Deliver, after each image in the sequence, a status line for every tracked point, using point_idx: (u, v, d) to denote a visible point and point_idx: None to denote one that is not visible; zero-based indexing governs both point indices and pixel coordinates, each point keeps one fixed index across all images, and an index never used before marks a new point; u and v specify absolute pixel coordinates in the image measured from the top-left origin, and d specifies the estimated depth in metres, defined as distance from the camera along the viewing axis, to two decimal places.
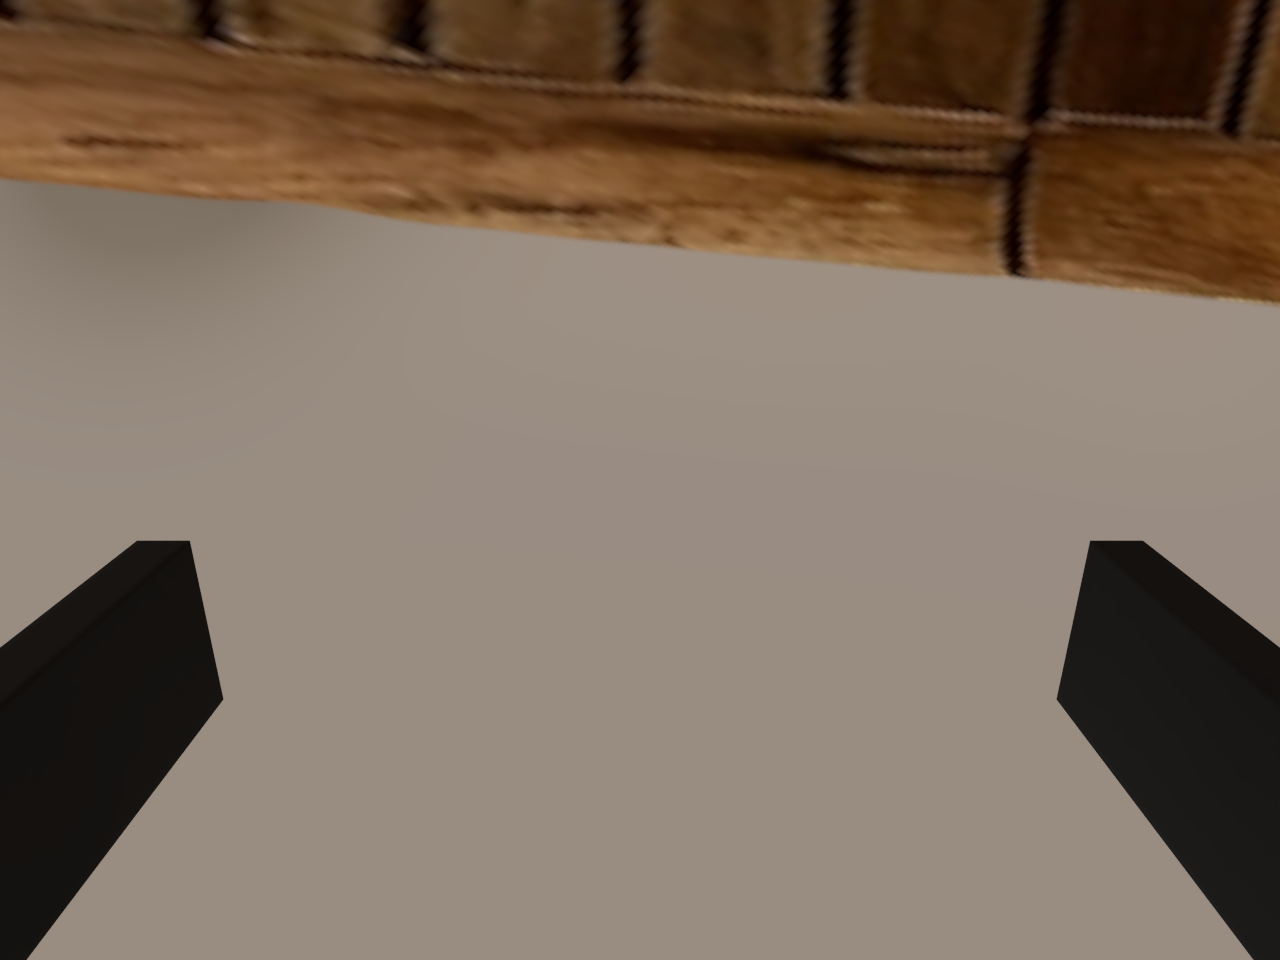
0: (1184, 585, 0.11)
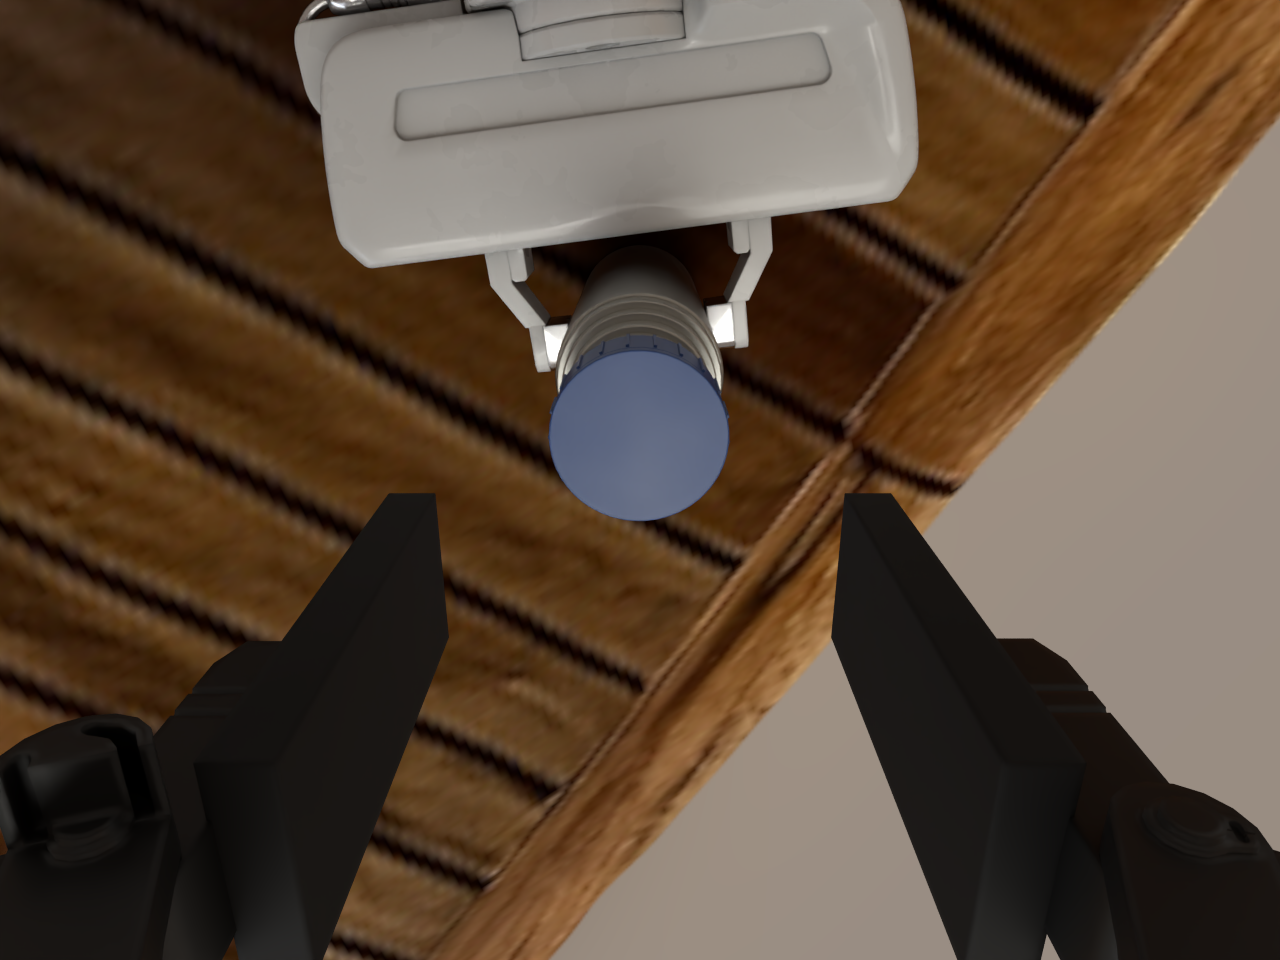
0: (901, 527, 0.13)
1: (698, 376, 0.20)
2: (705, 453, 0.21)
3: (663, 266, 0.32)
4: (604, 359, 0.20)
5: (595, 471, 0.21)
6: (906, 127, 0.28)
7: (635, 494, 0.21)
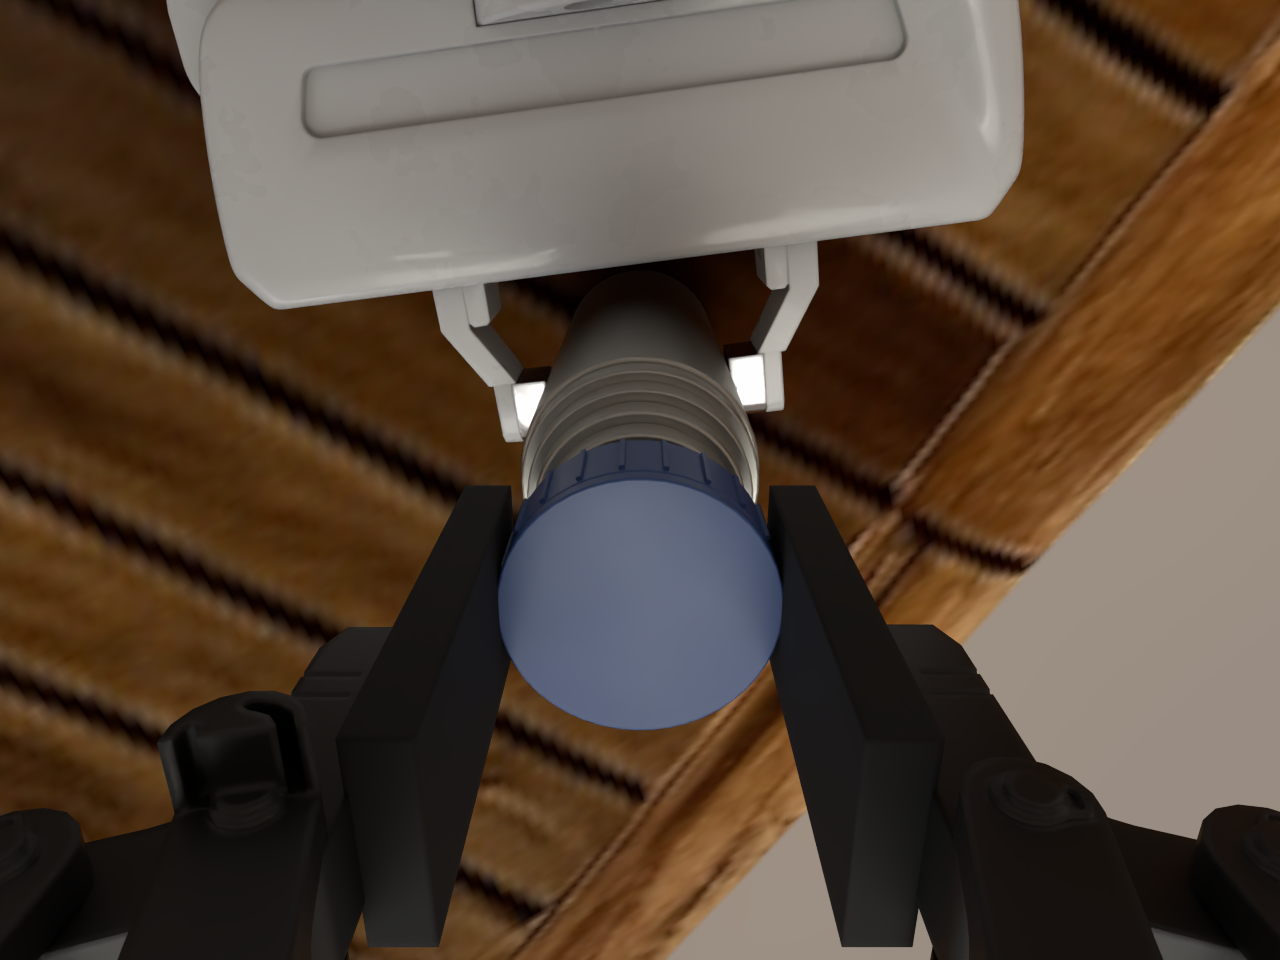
0: (818, 518, 0.13)
1: (736, 518, 0.12)
2: (745, 633, 0.13)
3: (671, 304, 0.24)
4: (583, 493, 0.12)
5: (571, 659, 0.13)
6: (1009, 119, 0.20)
7: (634, 692, 0.13)
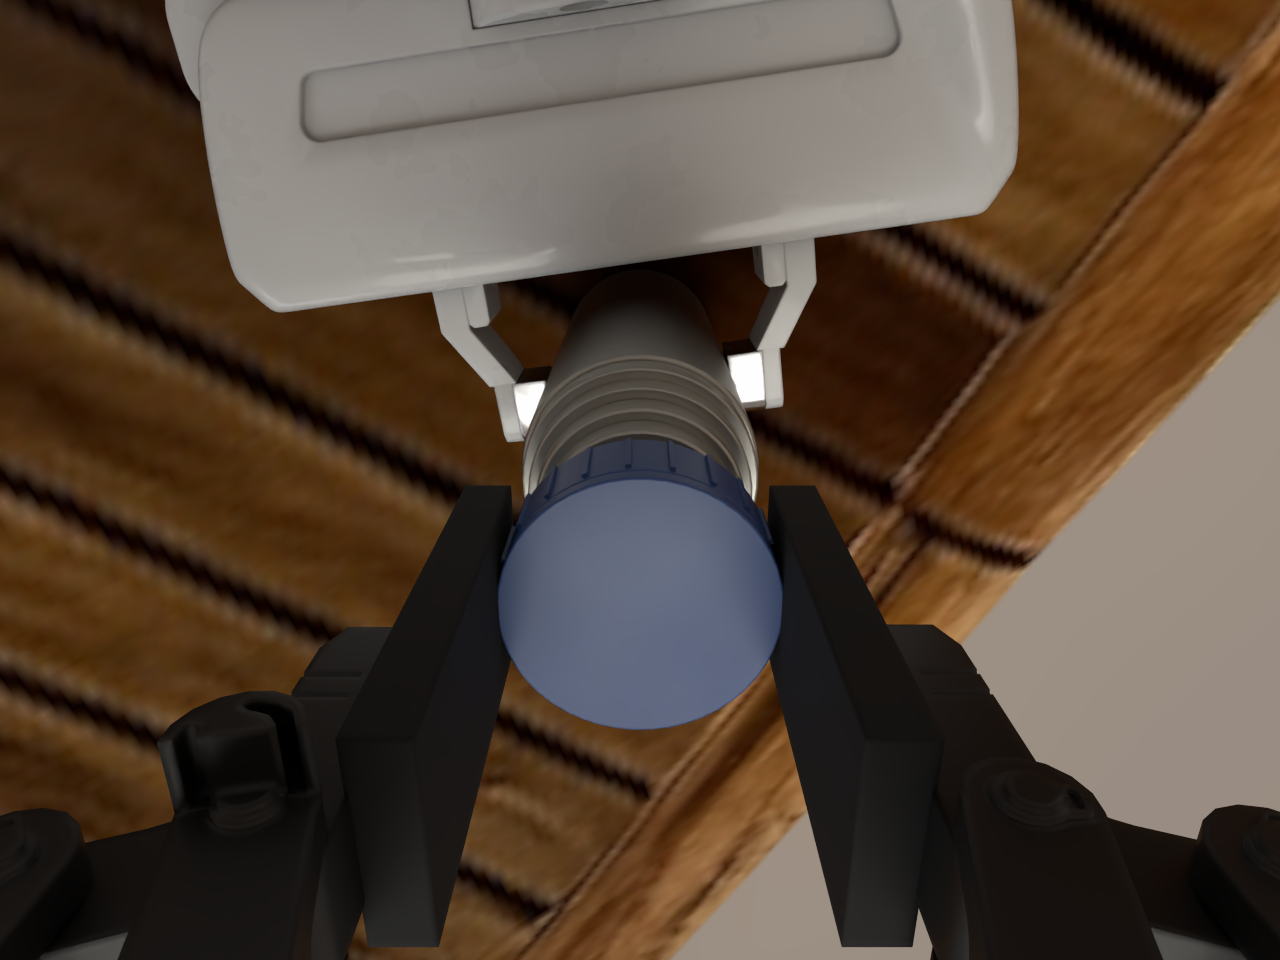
0: (818, 518, 0.13)
1: (503, 616, 0.13)
2: (580, 526, 0.12)
3: (670, 302, 0.24)
4: (588, 720, 0.14)
5: (728, 621, 0.13)
6: (1004, 114, 0.20)
7: (714, 555, 0.13)
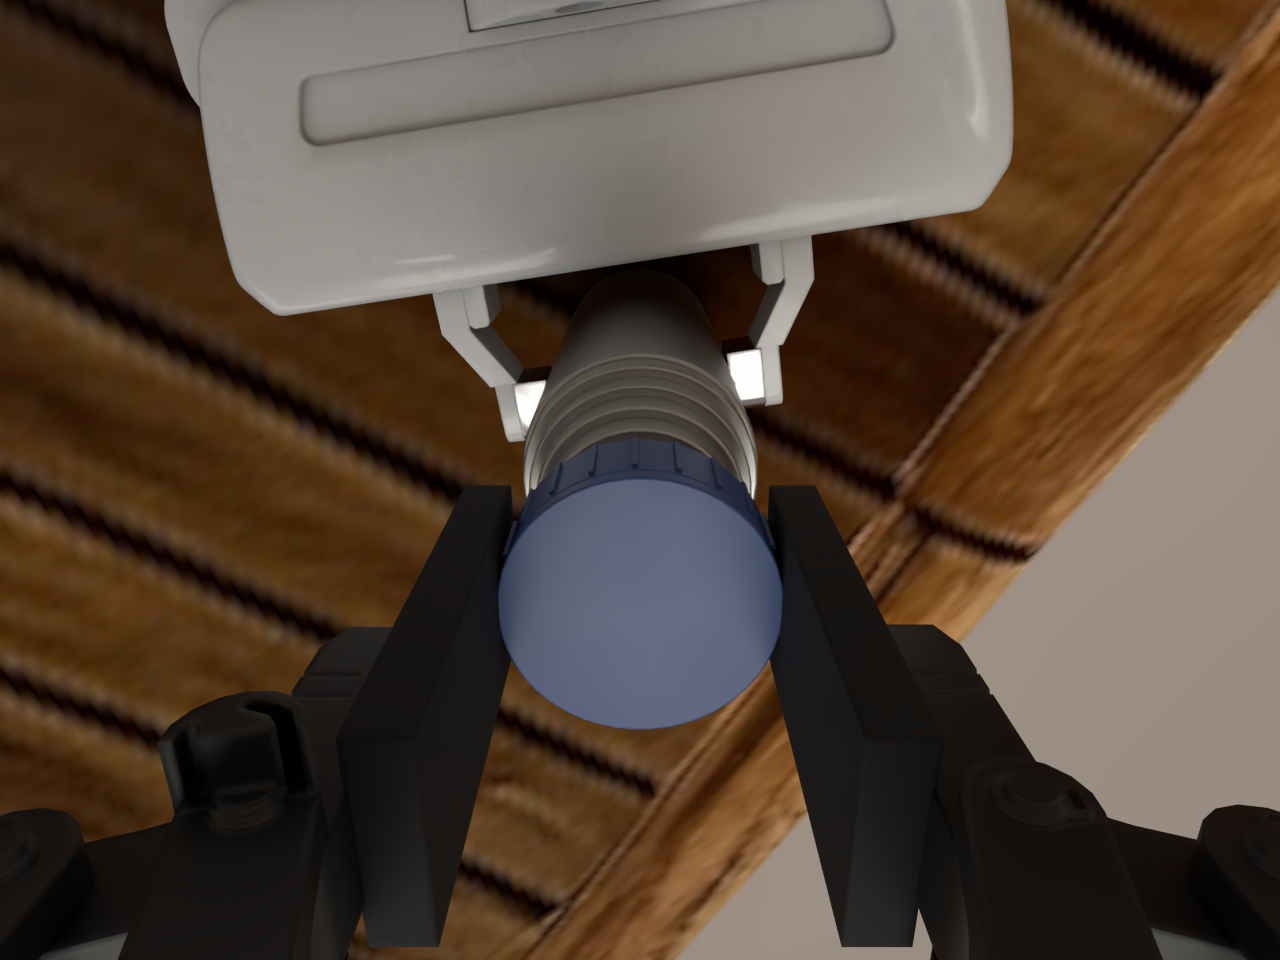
0: (818, 518, 0.13)
1: (737, 689, 0.13)
2: (615, 700, 0.14)
3: (669, 301, 0.25)
4: (774, 566, 0.13)
5: (584, 547, 0.13)
6: (998, 109, 0.20)
7: (544, 605, 0.13)
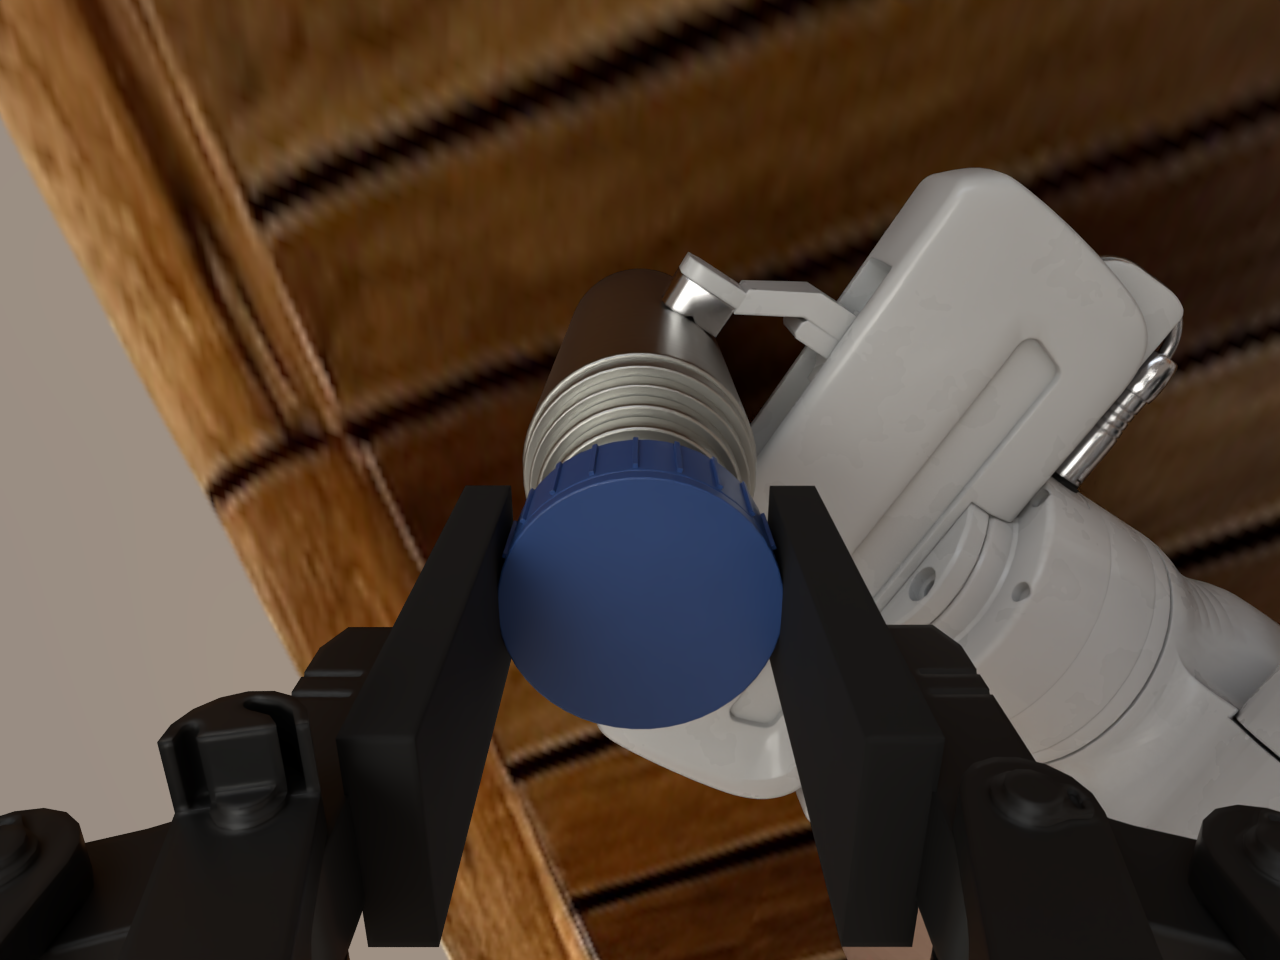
0: (818, 518, 0.13)
1: (737, 690, 0.13)
2: (615, 700, 0.14)
3: None
4: (774, 566, 0.13)
5: (584, 547, 0.13)
6: (642, 748, 0.27)
7: (544, 605, 0.13)
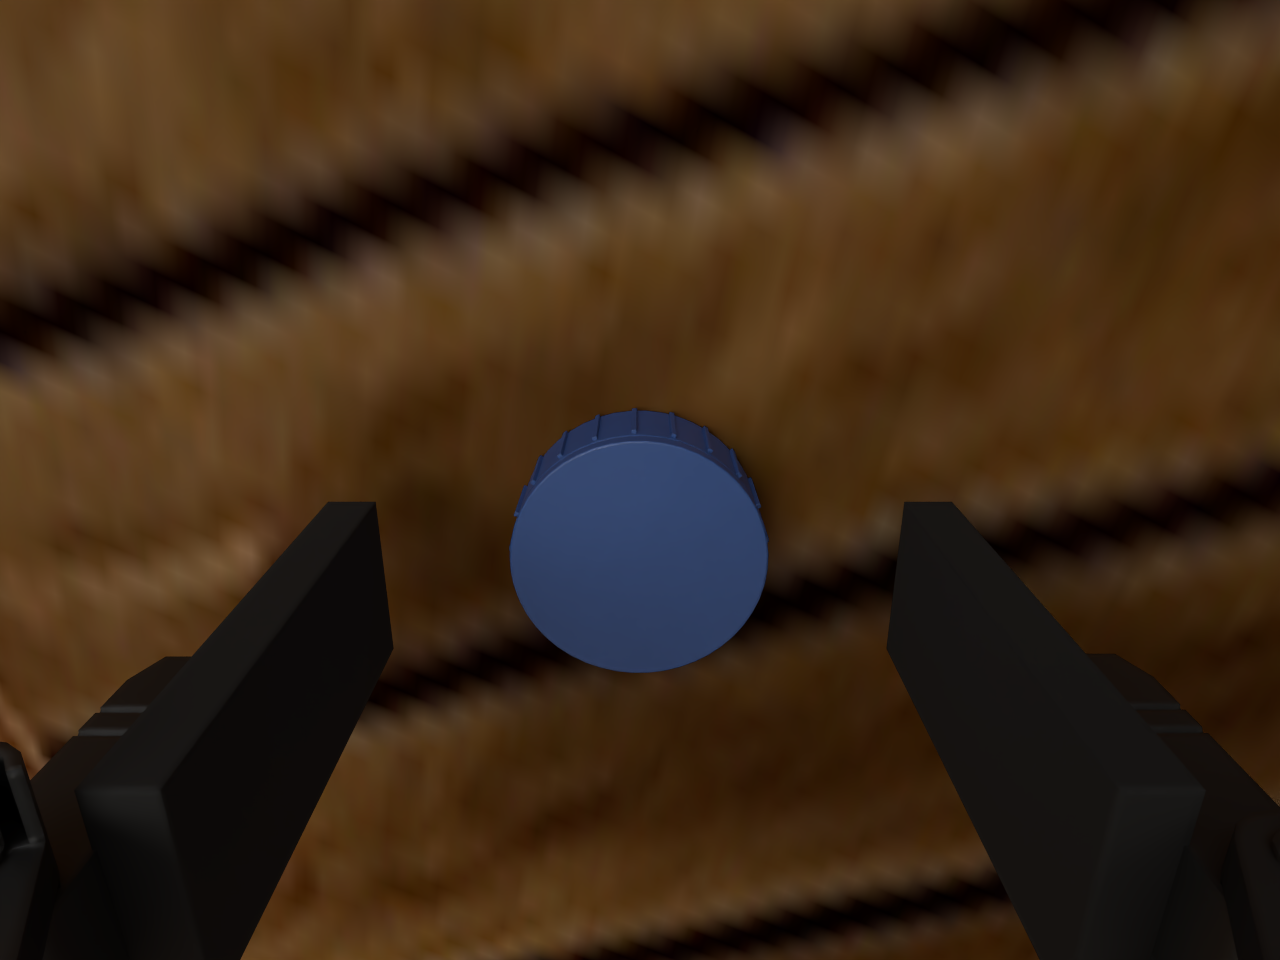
0: (969, 537, 0.12)
1: (726, 636, 0.15)
2: (616, 645, 0.15)
3: None
4: (758, 522, 0.14)
5: (588, 504, 0.14)
6: None
7: (553, 558, 0.14)
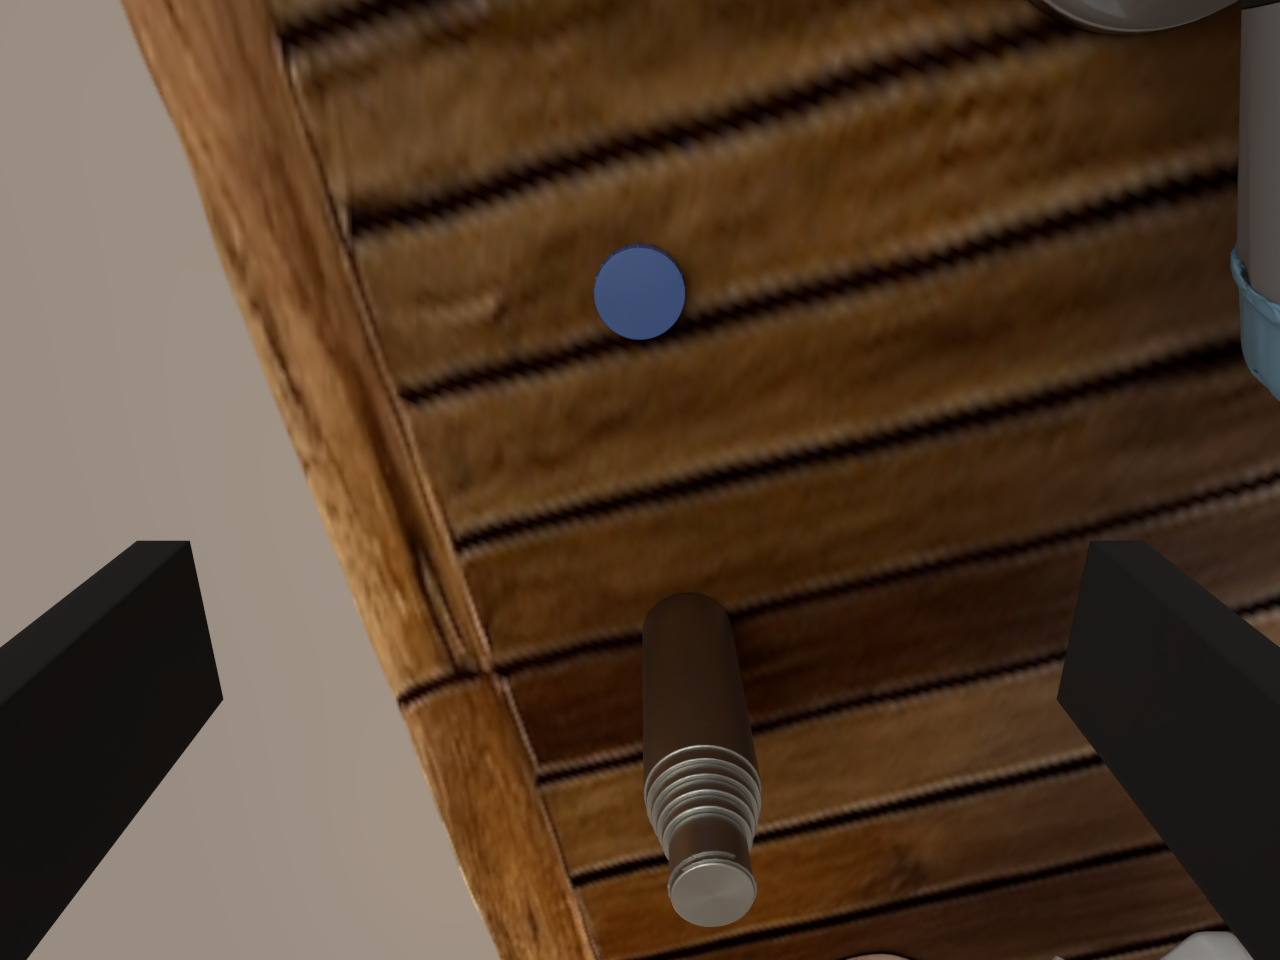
0: (1184, 585, 0.11)
1: (671, 324, 0.41)
2: (631, 328, 0.41)
3: None
4: (681, 278, 0.41)
5: (622, 271, 0.40)
6: None
7: (609, 292, 0.41)
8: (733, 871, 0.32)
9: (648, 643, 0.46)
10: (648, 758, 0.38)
